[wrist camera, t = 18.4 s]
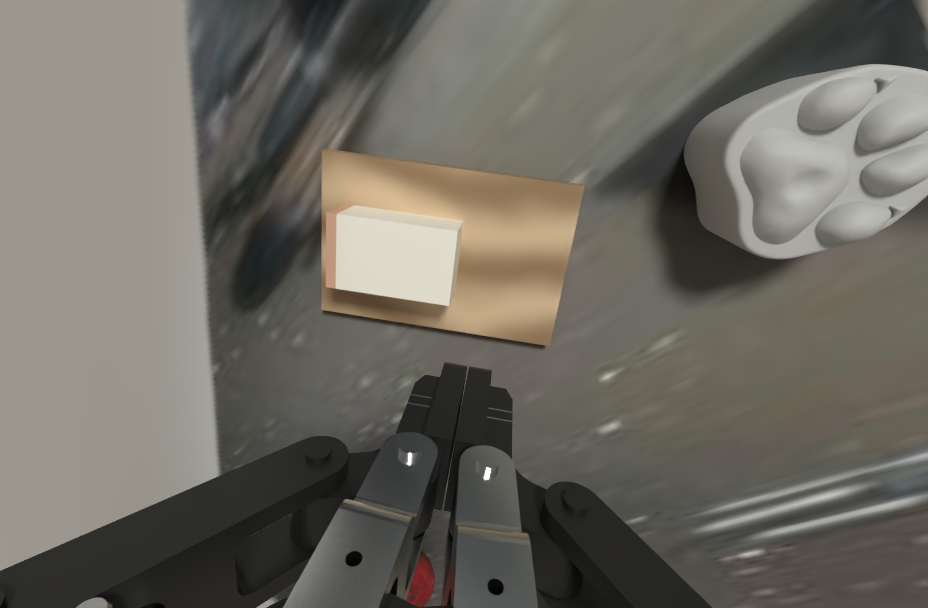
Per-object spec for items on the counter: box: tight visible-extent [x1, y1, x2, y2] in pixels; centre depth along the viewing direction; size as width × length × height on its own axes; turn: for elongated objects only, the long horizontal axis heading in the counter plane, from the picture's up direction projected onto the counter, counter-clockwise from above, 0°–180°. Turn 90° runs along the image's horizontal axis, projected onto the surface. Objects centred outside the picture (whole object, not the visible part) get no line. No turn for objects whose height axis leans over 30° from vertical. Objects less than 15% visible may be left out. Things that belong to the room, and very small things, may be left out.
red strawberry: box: [406, 553, 435, 607], centre depth 49 cm, size 6×6×8 cm
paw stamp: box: [684, 64, 928, 259], centre depth 29 cm, size 10×13×9 cm
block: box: [326, 204, 464, 306], centre depth 36 cm, size 6×4×10 cm
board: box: [322, 149, 585, 346], centre depth 38 cm, size 14×21×1 cm, turn 83°
